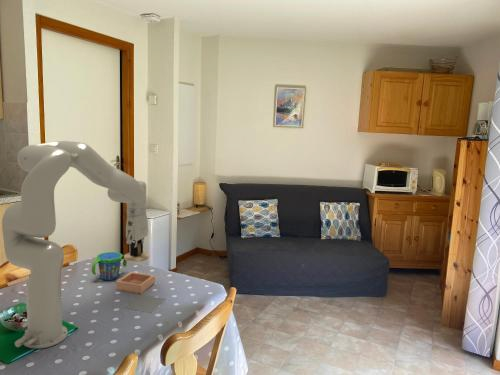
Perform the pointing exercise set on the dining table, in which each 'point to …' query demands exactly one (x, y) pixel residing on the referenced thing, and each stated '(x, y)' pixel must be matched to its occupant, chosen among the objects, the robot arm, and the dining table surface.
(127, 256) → the lid
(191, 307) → the dining table surface
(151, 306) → the mat
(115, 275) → the snack cup
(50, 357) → the dining table surface
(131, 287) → the dish
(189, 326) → the dining table surface
